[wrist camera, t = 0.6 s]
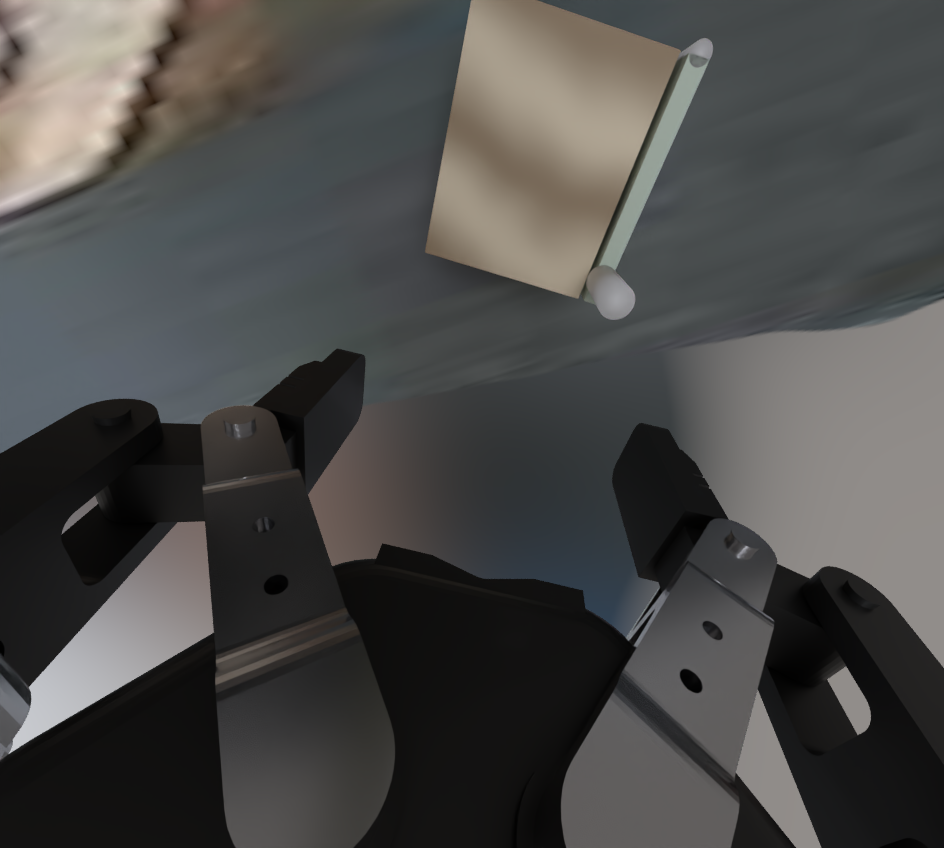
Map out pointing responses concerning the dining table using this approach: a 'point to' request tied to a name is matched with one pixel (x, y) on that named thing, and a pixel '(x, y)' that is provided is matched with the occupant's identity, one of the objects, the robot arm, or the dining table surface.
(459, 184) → the birch box
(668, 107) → the grey-green rectangular panel
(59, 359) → the dining table surface
